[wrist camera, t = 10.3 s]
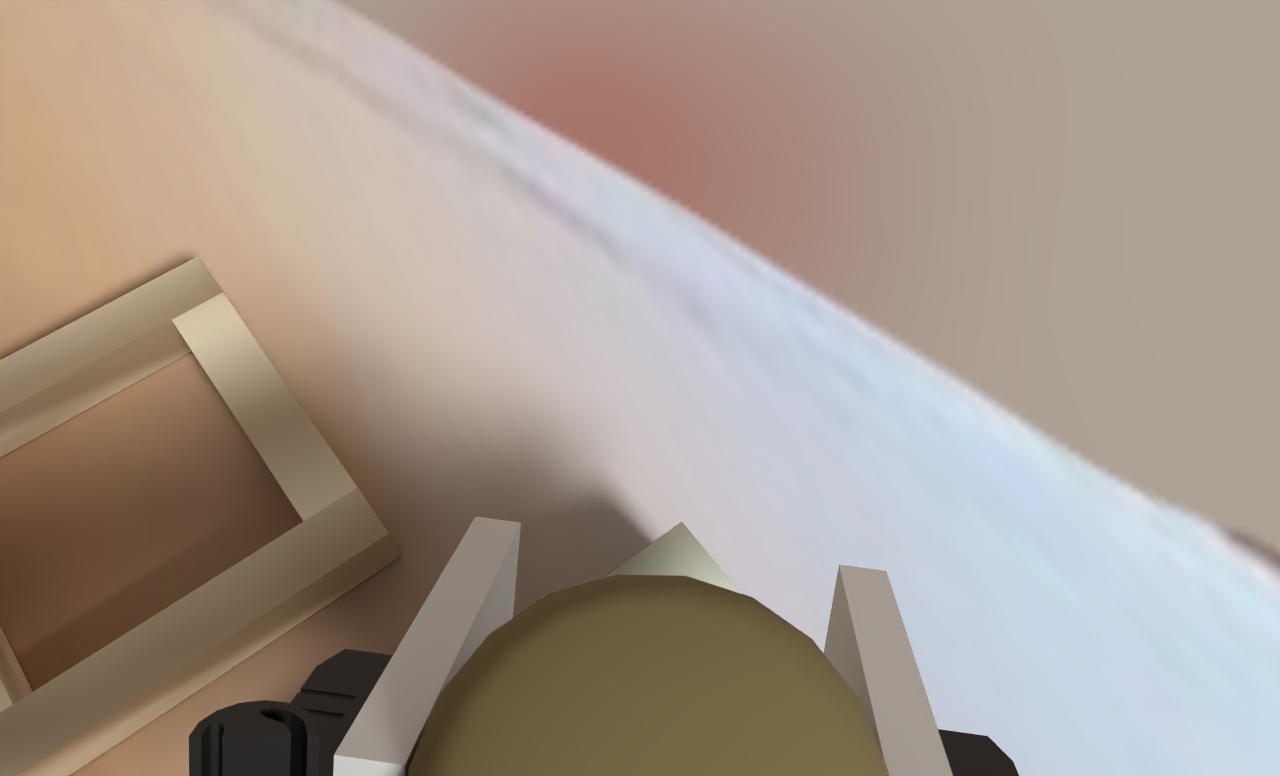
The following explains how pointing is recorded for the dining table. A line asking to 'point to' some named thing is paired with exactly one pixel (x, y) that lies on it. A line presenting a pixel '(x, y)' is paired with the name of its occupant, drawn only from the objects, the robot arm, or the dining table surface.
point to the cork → (648, 691)
